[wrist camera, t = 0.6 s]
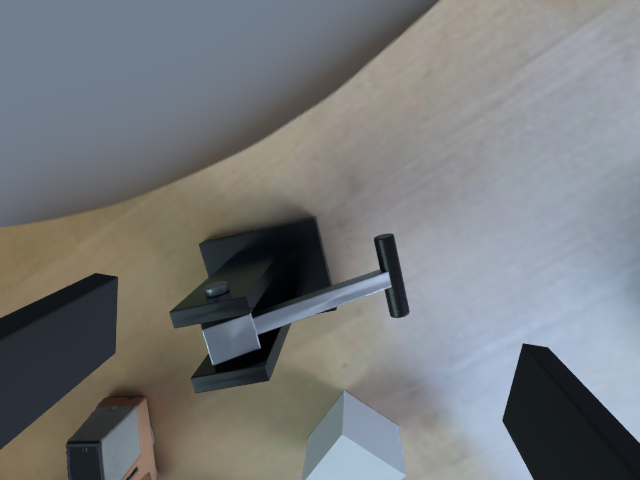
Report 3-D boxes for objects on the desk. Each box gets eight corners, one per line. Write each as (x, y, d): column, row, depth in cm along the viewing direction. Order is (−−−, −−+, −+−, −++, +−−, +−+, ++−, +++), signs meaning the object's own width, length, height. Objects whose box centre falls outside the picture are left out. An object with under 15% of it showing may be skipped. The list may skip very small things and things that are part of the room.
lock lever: (383, 231, 29) (401, 235, 26) (399, 306, 30) (418, 315, 28) (191, 291, 25) (192, 301, 23) (216, 375, 26) (221, 392, 24)
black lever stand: (316, 215, 35) (289, 258, 22) (337, 305, 36) (325, 397, 23) (203, 240, 36) (112, 296, 23) (228, 325, 38) (157, 424, 24)
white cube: (344, 390, 38) (342, 434, 32) (398, 425, 39) (406, 475, 33) (308, 436, 40) (299, 487, 34) (361, 470, 40) (361, 526, 34)
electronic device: (121, 480, 42) (72, 549, 35) (104, 394, 41) (48, 447, 33) (163, 480, 42) (122, 550, 35) (147, 392, 40) (101, 446, 33)
